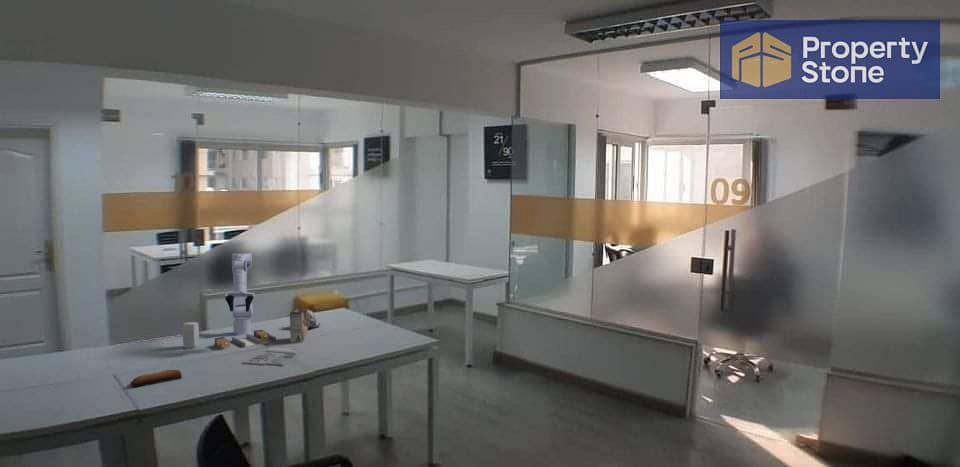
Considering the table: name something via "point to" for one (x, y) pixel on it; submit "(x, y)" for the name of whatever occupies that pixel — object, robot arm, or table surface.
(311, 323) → the lucky cat figurine
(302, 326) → the coffee box
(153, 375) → the sunglasses case
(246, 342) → the battery board
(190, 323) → the skincare box
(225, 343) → the copper cell
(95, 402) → the table surface
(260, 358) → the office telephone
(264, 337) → the cell
